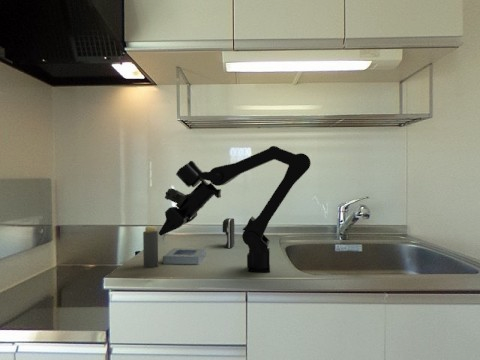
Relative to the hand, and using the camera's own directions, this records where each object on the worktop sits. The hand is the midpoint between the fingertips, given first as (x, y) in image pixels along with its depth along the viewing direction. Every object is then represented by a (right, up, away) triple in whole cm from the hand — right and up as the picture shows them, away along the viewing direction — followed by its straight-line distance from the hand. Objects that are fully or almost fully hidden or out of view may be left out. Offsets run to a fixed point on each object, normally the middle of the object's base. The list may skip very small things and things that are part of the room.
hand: (164, 232), depth 109 cm
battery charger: (+20, -11, +29) cm, 37 cm away
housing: (+5, -11, +9) cm, 15 cm away
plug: (-4, -11, +1) cm, 12 cm away
